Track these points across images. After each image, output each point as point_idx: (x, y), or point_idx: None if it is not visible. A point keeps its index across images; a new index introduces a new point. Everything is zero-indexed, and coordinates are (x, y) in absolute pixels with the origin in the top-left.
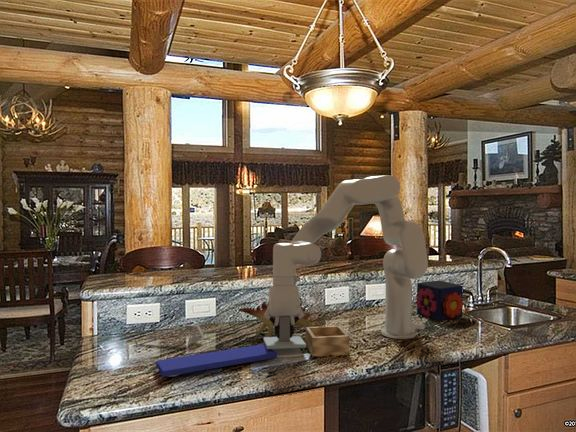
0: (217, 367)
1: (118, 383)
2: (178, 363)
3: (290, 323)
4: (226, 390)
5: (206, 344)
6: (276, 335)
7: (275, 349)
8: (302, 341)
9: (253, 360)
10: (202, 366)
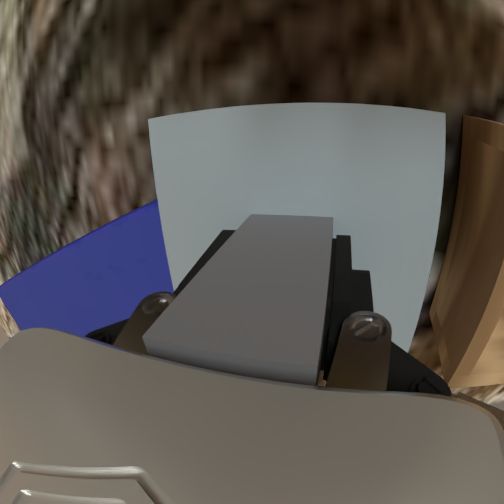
0: None
1: (9, 315)
2: (27, 321)
3: (327, 378)
4: None
5: (4, 104)
6: (225, 231)
7: None
8: (412, 304)
9: None
10: None
